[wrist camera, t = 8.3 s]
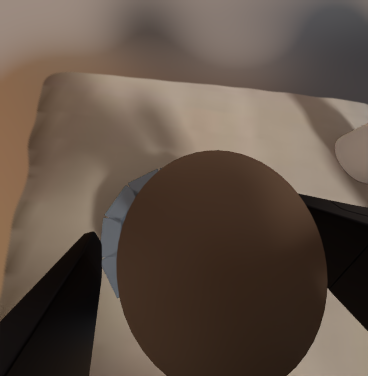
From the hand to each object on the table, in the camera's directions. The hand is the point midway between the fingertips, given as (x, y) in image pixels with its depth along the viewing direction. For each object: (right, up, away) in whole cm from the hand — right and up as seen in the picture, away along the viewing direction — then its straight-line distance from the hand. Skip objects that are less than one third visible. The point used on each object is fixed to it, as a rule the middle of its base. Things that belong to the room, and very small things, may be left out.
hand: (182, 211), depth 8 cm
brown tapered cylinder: (-1, -3, +7) cm, 8 cm away
